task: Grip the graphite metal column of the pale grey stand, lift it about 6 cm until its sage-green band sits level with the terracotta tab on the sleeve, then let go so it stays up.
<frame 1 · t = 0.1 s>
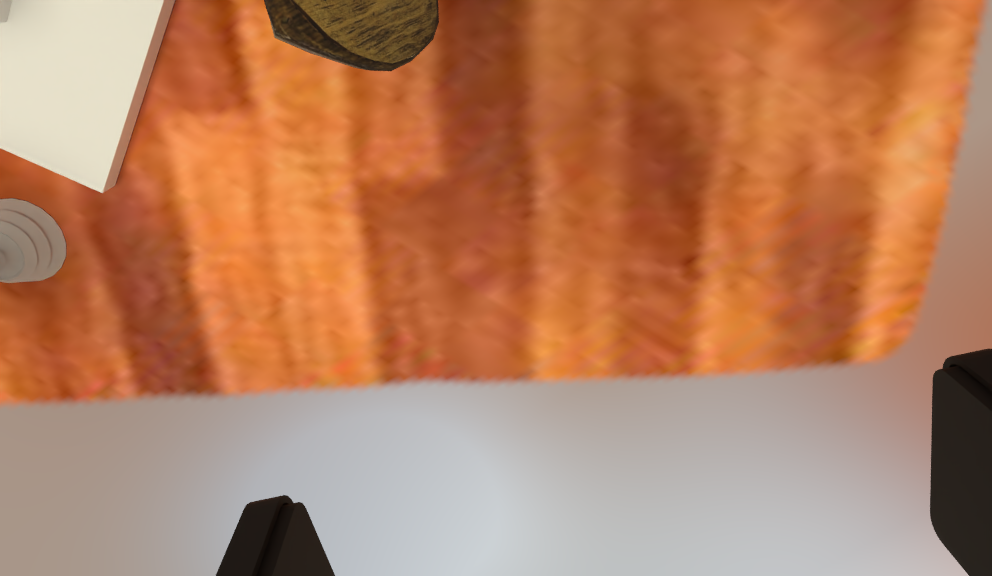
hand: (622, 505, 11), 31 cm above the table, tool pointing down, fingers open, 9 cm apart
chalice: (22, 239, 41), on the table
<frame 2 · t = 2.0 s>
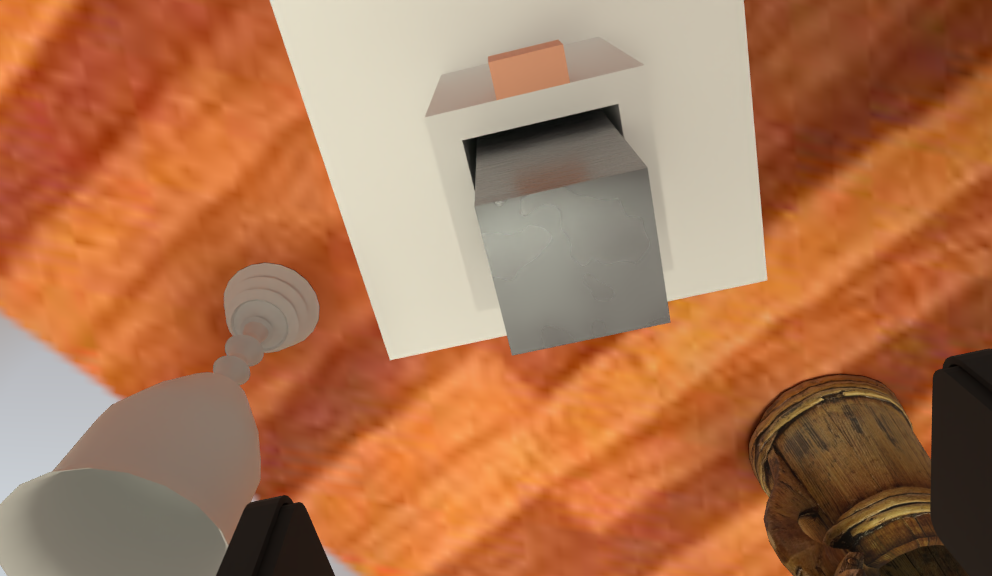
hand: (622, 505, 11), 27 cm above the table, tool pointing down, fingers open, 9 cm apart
chalice: (272, 305, 39), on the table
column: (550, 182, 26), point 10 cm above the table, slide at 0.0 cm
wooden mug: (787, 430, 43), on the table
stand: (533, 127, 35), on the table
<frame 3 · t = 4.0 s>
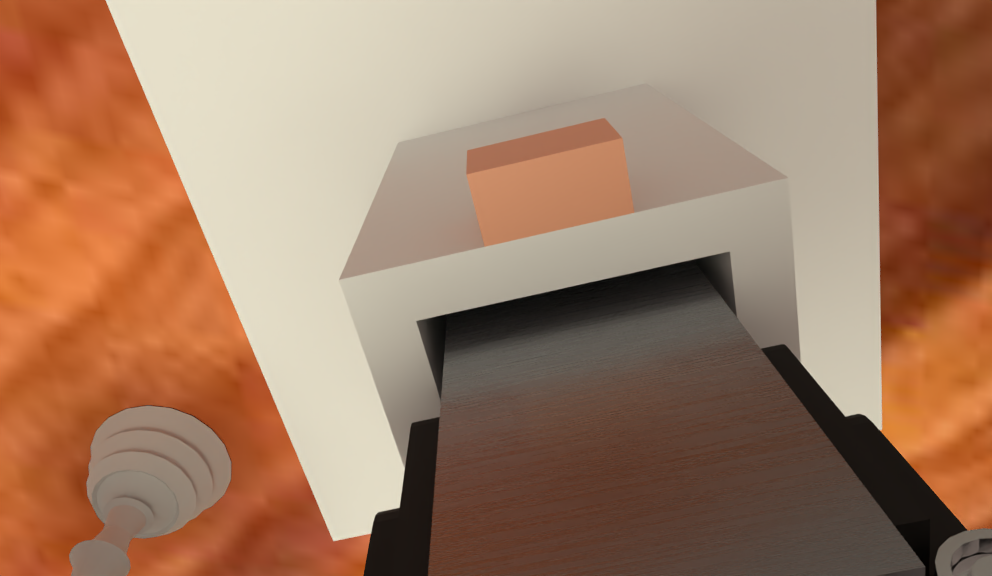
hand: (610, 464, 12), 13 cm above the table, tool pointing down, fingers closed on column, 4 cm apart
chalice: (163, 460, 27), on the table
column: (583, 365, 14), point 10 cm above the table, slide at 0.0 cm, touching gripper
stand: (541, 214, 23), on the table
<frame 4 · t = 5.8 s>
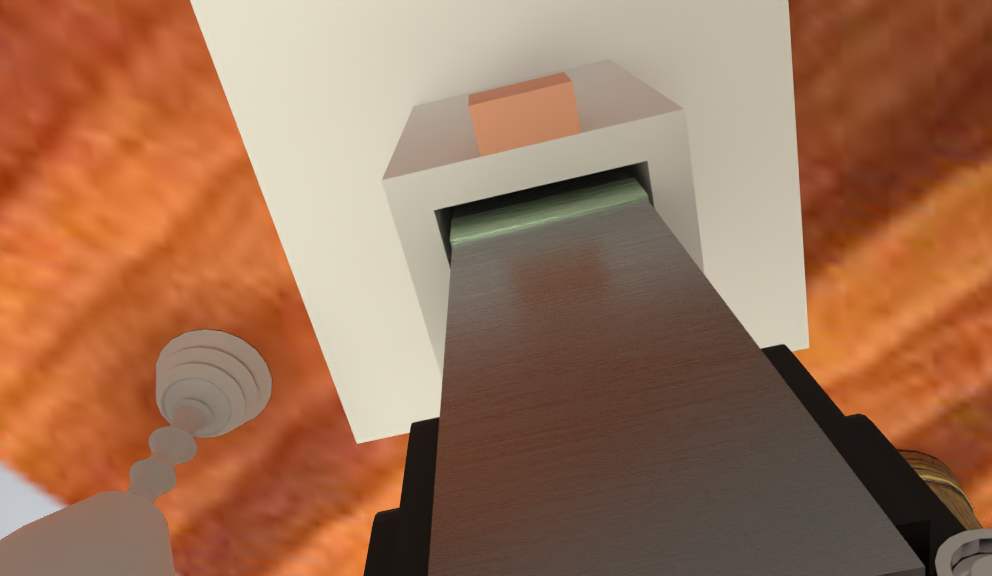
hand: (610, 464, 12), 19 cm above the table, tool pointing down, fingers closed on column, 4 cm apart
chalice: (215, 377, 32), on the table
column: (583, 365, 14), point 16 cm above the table, slide at 5.9 cm, touching gripper
wooden mug: (825, 512, 37), on the table
stand: (528, 168, 29), on the table
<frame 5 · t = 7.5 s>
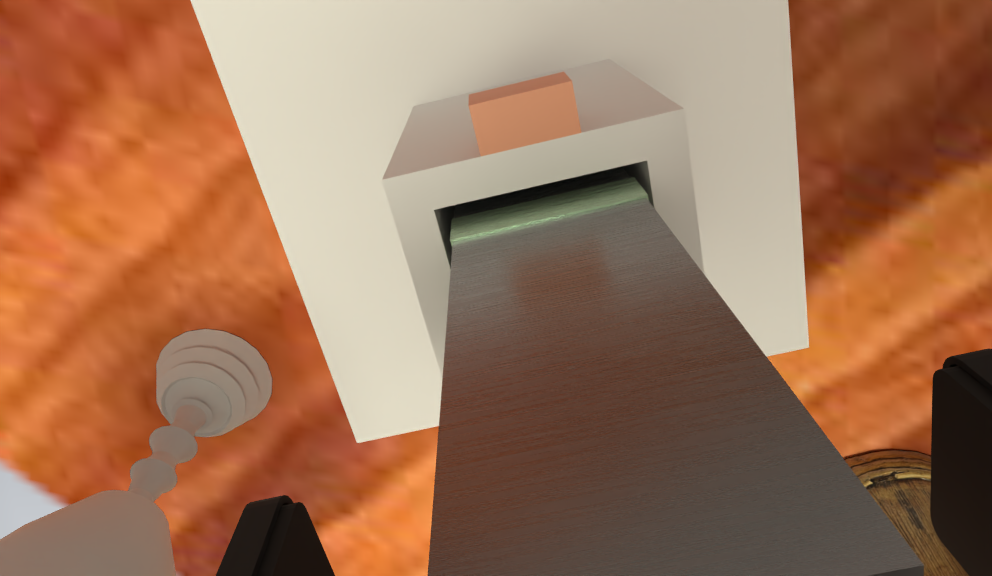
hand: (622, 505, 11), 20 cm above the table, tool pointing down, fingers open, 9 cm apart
chalice: (216, 377, 32), on the table
column: (583, 365, 14), point 16 cm above the table, slide at 6.0 cm
wooden mug: (825, 512, 37), on the table
stand: (528, 167, 29), on the table
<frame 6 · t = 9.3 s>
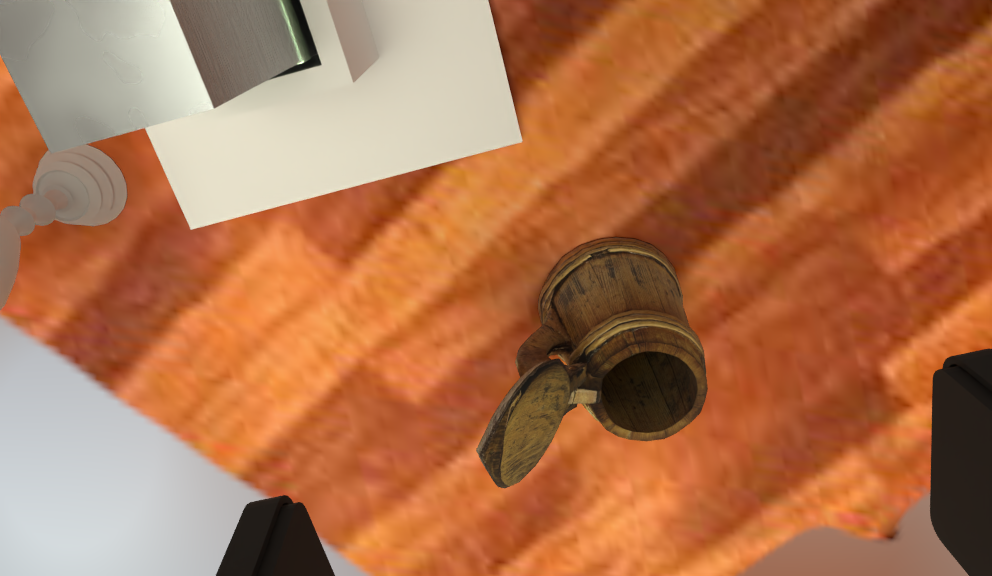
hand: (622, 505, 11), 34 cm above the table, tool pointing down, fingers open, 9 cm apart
chalice: (83, 184, 43), on the table
column: (201, 22, 25), point 16 cm above the table, slide at 6.0 cm
wooden mug: (575, 295, 47), on the table
stand: (297, 5, 39), on the table
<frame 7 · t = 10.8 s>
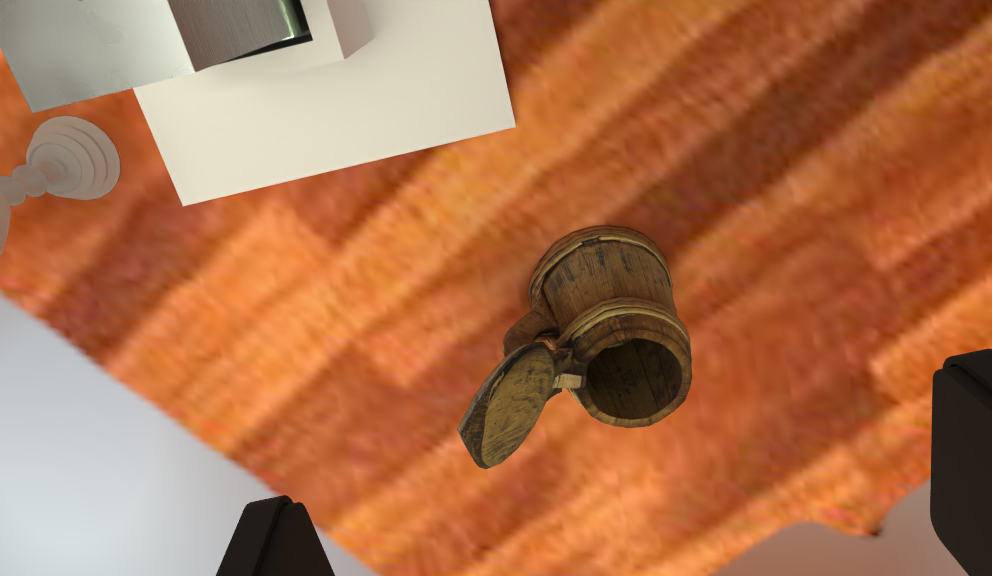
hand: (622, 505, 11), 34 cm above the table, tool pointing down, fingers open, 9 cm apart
chalice: (77, 158, 43), on the table
wooden mug: (565, 283, 47), on the table
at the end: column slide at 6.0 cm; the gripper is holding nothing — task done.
